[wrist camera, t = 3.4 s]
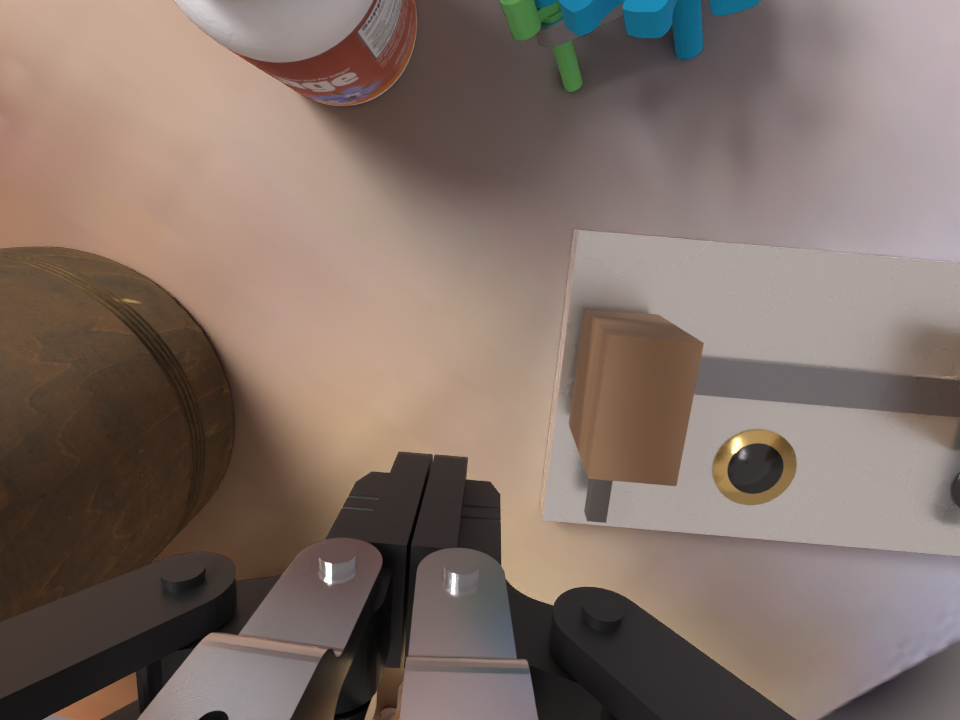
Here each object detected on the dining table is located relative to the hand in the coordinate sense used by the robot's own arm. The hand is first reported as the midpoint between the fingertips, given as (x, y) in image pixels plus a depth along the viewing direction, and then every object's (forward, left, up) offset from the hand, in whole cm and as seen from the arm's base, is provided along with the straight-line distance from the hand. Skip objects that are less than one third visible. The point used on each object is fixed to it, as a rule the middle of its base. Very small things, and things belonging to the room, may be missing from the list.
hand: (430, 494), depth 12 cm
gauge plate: (+15, -1, -14) cm, 20 cm away
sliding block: (+6, -2, -11) cm, 13 cm away
